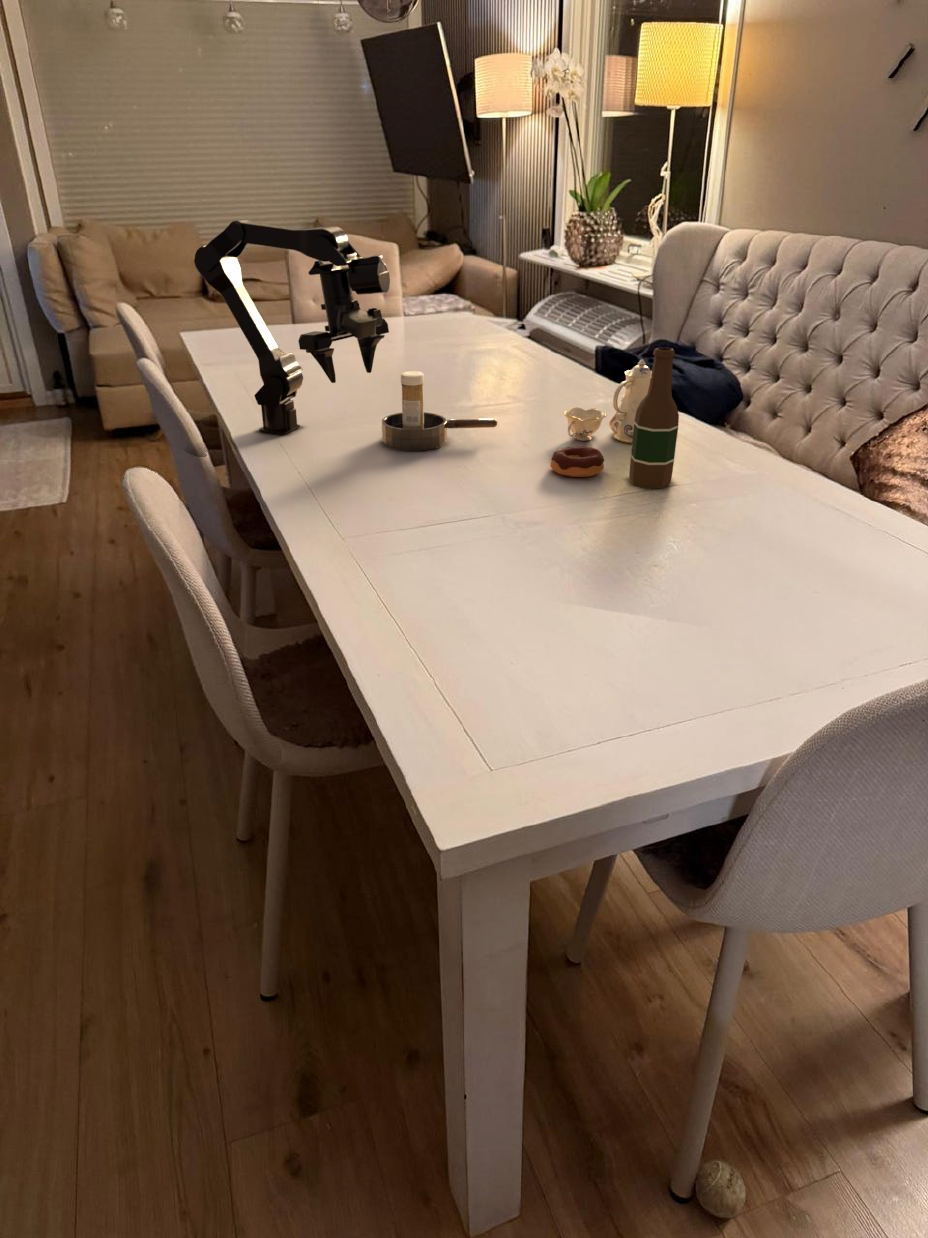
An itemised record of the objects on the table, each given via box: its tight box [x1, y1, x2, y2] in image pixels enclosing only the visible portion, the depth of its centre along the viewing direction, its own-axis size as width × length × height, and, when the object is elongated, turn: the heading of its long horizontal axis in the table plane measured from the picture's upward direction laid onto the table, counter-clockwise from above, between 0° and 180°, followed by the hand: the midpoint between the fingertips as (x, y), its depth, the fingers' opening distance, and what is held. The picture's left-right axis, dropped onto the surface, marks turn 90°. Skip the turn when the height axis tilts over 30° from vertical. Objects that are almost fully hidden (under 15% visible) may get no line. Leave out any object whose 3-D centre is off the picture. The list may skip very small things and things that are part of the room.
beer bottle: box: [628, 346, 680, 489], centre depth 159 cm, size 8×8×24 cm
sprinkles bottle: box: [400, 370, 425, 429], centre depth 182 cm, size 5×5×14 cm
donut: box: [549, 446, 605, 478], centre depth 169 cm, size 10×10×4 cm
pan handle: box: [446, 418, 498, 429], centre depth 185 cm, size 11×2×2 cm, turn 96°
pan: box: [381, 411, 448, 452], centre depth 184 cm, size 13×13×4 cm
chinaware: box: [562, 358, 652, 444], centre depth 187 cm, size 28×17×17 cm, turn 135°
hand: (351, 377), depth 182 cm, fingers open, 9 cm apart
